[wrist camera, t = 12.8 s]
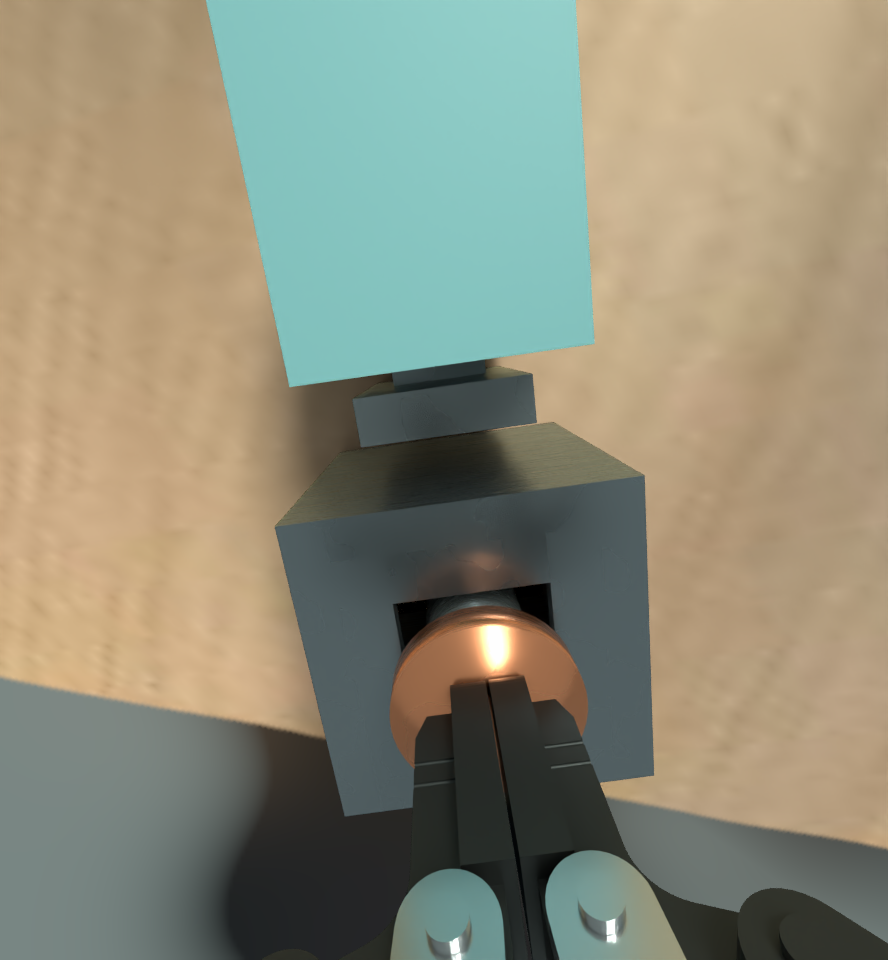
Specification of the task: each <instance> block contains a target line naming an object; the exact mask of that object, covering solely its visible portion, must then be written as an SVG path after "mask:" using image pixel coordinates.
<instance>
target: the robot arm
mask: <svg viewBox="0 0 888 960" xmlns="http://www.w3.org/2000/svg"><path fill="white" fill-rule="evenodd" d="M488 682H489V690H490V697H491V705H492V712H493V720H494V727H495V735H496V742H497V748H496V742H495V736H494V730H493V724H492V718H491V712H490V706H489V700H488V694H487V688H486V682H485V681H477V682H470V683H463V684H455V685H450V697H451V713H449V714H442V715H434V716H427V717H426V719H425V721H424V723H423V725H422V727H421V729H420V730H419V732H418V734H417V736H416V738H415V759H414V764H415V768H414V789H413V810H412V835H411V836H412V837H411V860H410V861H411V862H410V879H409V885H408V889H407V893H406V896H405V898H404V901H403V902H402V904H401V906H400V908H399V911H398V913H397V915H396V916H395V917H394V919H393V920H392V922H391V923H390V924H389V925H388V926H387V927H386V928H385V930H384V931H383V932H382V933H381V934H379V935H378V936H377V937H376V938H375V939H373V940H372V941H371V942H369V943H367V944H366V945H364V946H363V947H361V948H359V949H357V950H355V951H353V952H352V953H350V954H348V955H346V956H344V957H342V958H340V959H339V960H528V955H527V948H526V941H525V940H526V939H525V932H524V925H523V917H522V909H521V902H520V895H519V887H518V879H517V872H518V878H519V884H520V890H521V895H522V902H523V908H524V914H525V920H526V926H527V932H528V938H529V944H530V950H531V956H532V960H888V943H886V942H885V941H883V940H881V939H880V938H878V937H877V936H875V935H874V934H872V933H871V932H869V931H867V930H866V929H864V928H862V927H861V926H859V925H858V924H856V923H855V922H853V921H851V920H850V919H848V918H847V917H845V916H844V915H842V914H841V913H839V912H837V911H836V910H834V909H833V908H831V907H829V906H828V905H826V904H824V903H822V902H821V901H819V900H817V899H815V898H813V897H810V896H807V895H806V894H803V893H800V892H796V891H793V890H788V889H782V888H777V889H776V888H770V889H765V890H761V891H758V892H756V893H754V894H752V895H751V896H750V897H749V898H747V899H746V901H745V902H744V903H743V905H742V906H741V909H740V912H739V913H737V912H734V911H729V910H725V909H720V908H716V907H711V906H707V905H702V904H698V903H694V902H690V901H687V900H683V899H681V898H678V897H676V896H674V895H671V894H670V893H668V892H666V891H664V890H663V889H661V888H659V887H658V886H657V885H655V884H654V883H653V882H651V881H650V880H649V879H648V878H647V877H646V876H645V875H644V874H643V873H642V872H641V871H640V870H639V869H638V868H637V866H636V865H635V864H634V863H633V861H632V860H631V858H630V857H629V855H628V853H627V851H626V850H625V847H624V844H623V842H622V839H621V837H620V834H619V832H618V829H617V827H616V824H615V821H614V819H613V817H612V814H611V811H610V809H609V806H608V804H607V801H606V798H605V796H604V793H603V791H602V788H601V786H600V783H599V781H598V778H597V775H596V773H595V770H594V768H593V765H591V761H590V757H589V755H588V752H587V750H586V747H585V745H584V744H583V740H582V737H581V734H580V732H579V729H578V727H577V724H576V722H575V719H574V717H573V716H572V715H571V714H570V713H569V712H568V711H567V710H566V709H565V708H564V707H563V706H562V705H561V704H560V703H559V702H558V701H557V700H556V699H551V700H544V701H536V702H532V701H531V697H530V694H529V690H528V687H527V683H526V680H525V677H524V675H520V676H513V677H505V678H498V679H491V680H488ZM497 750H498V754H497ZM498 757H499V760H498ZM499 763H500V766H499ZM500 770H501V772H500ZM501 776H502V778H501ZM502 782H503V784H502ZM503 788H504V790H503ZM504 794H505V796H504ZM505 800H506V802H505ZM506 806H507V808H506ZM507 812H508V814H507ZM508 818H509V820H508ZM509 824H510V826H509ZM510 830H511V832H510ZM511 836H512V838H511ZM512 842H513V844H512ZM513 848H514V850H513ZM514 854H515V856H514ZM515 860H516V864H515ZM516 866H517V871H516ZM261 960H319V959H318V958H317V957H315V956H314V955H313V954H311V953H309V952H307V951H304V950H300V949H285V950H282V951H278V952H275V953H273V954H270V955H268V956H266V957H265V958H263V959H261Z"/></svg>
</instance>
